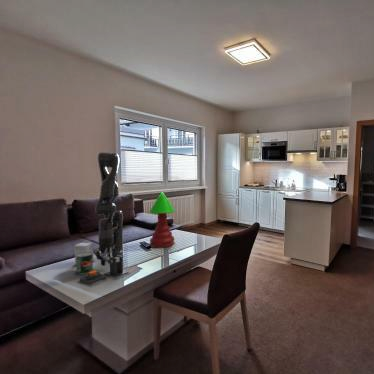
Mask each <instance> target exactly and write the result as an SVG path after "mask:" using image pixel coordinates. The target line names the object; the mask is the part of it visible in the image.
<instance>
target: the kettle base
mask: <svg viewBox="0 0 374 374" xmlns="http://www.w3.org/2000/svg"><path fill="white" fill-rule="evenodd" d="M116 257H119V258H120V261H119V262H116V258H113V257H110V264H109V271H108V272H105V273H104V276H109V277H112V278H114V279H116V278H118V277H121V276H123V275H126V274H128V273H129V271H127V270H124V259H123V258H124V255H123V256H120V255H116Z"/></svg>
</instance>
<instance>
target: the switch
mask: <svg viewBox="0 0 374 374" xmlns="http://www.w3.org/2000/svg"><path fill="white" fill-rule="evenodd" d="M115 258H116V262H119V261H120V258H119V257H115ZM109 260H110V258H109V257H108V256H107V255H106V256H105V263H108V261H109Z"/></svg>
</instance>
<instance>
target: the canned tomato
mask: <svg viewBox="0 0 374 374" xmlns="http://www.w3.org/2000/svg"><path fill="white" fill-rule="evenodd" d="M76 263H77V265H76V273H77V274H81V275H82V274H88V273H89V272H90V271H93V270H94V269H93V268H94V267H93V266H94V265H93V262H92V252H84V253H80V254H77V255H76Z"/></svg>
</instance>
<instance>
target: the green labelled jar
mask: <svg viewBox="0 0 374 374" xmlns="http://www.w3.org/2000/svg"><path fill="white" fill-rule="evenodd" d="M93 251H94V242H80V243H77V244H74V266H77V263H76V255H77V254H80V253H84V252H92V263H94V261H95V260H94V259H95V258H94V253H93Z"/></svg>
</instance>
